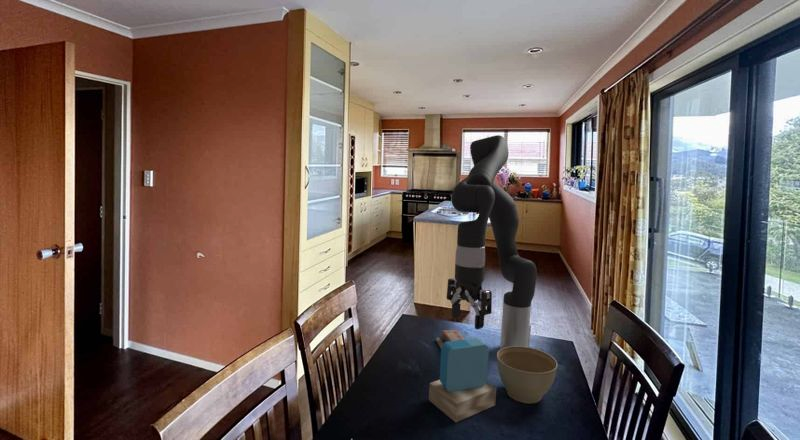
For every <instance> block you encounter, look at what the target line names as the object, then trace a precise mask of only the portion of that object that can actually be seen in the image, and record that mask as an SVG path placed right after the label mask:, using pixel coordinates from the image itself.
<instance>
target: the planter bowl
mask: <svg viewBox="0 0 800 440" xmlns="http://www.w3.org/2000/svg"><path fill="white" fill-rule="evenodd" d="M496 359H497V371H498V375H499V378H500V381H501V383H502V385H503V386H504V388H505V389H506V394H507V395H508V396H509V397H510V399H513V400H515V401H517V402H519V403H523V404H536V403H539V402H540V401H541V400H542V398H543V396H544V395H546V393H547V392H548V391H549V390H550V388H551V387H552V385H553V383H554V381H555V377H556V374H557V373H556V372H557V370H558V361H557V360H556V358H555V357H553V355H551V354H549V353H547V352H545V351H544V350H541V349H537V348H533V347H530V346H529V347H523V346H510V347H505V348H502V349H500V348H499V350H498V351H497V353H496Z"/></svg>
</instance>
